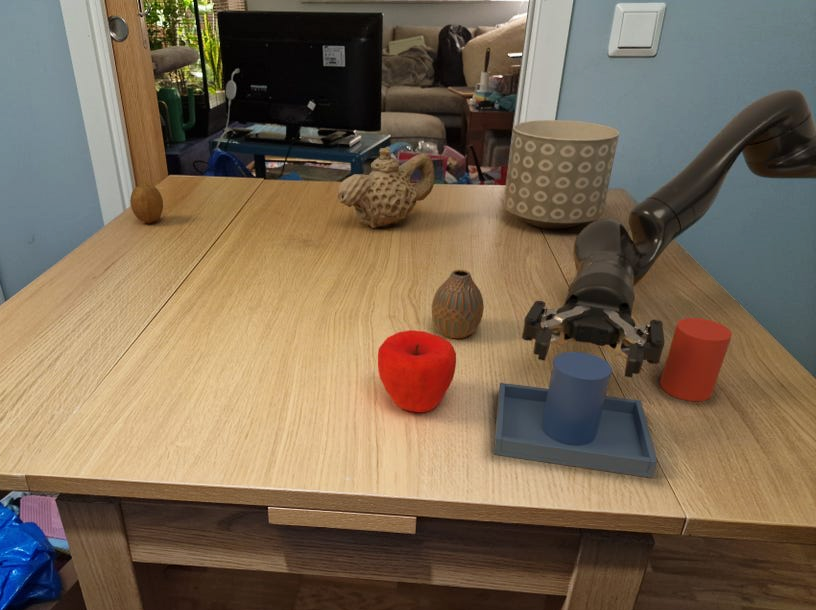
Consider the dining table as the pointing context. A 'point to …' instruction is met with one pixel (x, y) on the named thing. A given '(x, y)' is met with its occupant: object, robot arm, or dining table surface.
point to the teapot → (387, 189)
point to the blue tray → (610, 451)
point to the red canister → (695, 359)
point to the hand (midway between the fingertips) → (585, 360)
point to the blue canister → (575, 397)
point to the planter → (559, 172)
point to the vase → (457, 306)
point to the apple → (416, 369)
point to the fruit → (146, 203)
